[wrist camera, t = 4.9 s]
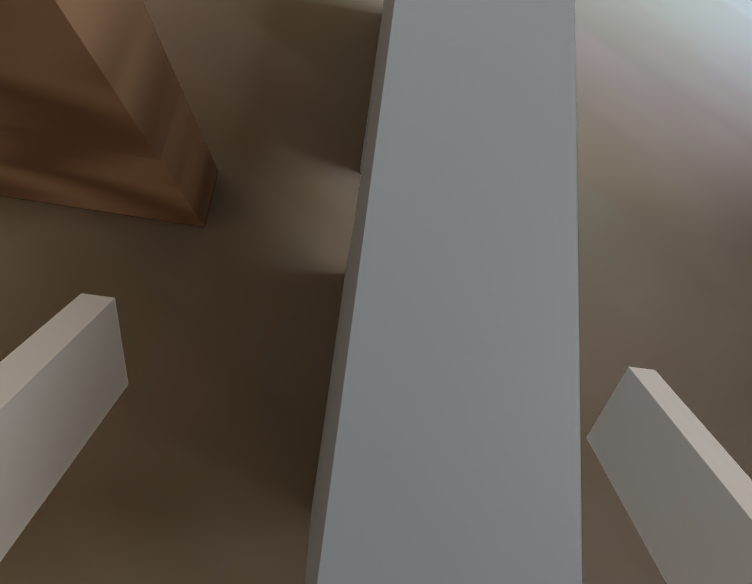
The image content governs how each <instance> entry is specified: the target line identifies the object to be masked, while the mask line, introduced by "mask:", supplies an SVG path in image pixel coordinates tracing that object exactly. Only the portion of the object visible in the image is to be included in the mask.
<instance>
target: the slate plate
mask: <svg viewBox="0 0 752 584" xmlns="http://www.w3.org/2000/svg"><path fill="white" fill-rule="evenodd" d="M360 173H361V179H360V187H359V194H358V201H357V208H356V215H355V222H354V228H353V233H352V239H351V244H350V250H349V255H348V261H347V266H346V271H345V278H344V285H343V292H342V299H341V306H340V313H339V320H338V327H337V334H336V341H335V348H334V355H333V362H332V369H331V376H330V383H329V391H328V398H327V405H326V412H325V419H324V426H323V433H322V440H321V447H320V454H319V461H318V468H317V475H316V482H315V489H314V496H313V503H312V510H311V520H310V531H309V542H308V553H307V564H306V575H305V584H582V535H581V454H580V373H579V292H578V211H577V131H576V50H575V0H384V4H383V11H382V18H381V25H380V32H379V39H378V46H377V53H376V60H375V67H374V74H373V81H372V88H371V95H370V102H369V109H368V116H367V123H366V130H365V137H364V144H363V151H362V158H361V165H360Z"/></svg>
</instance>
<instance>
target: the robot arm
mask: <svg viewBox="0 0 752 584" xmlns="http://www.w3.org/2000/svg"><path fill="white" fill-rule="evenodd" d="M128 385H129V384H128V378H127V371H126V365H125V358H124V352H123V346H122V339H121V333H120V326H119V320H118V313H117V307H116V301H115V298H113V297H106V296H98V295H91V294H83V293H81V294H80V295H79V296H77V297H76V298H75V299H74V300H73V301H72V302H70V303H69V304H68V305H67V306H66V307H64V308H63V309H62V310H61V311H60V312H59V313H57V314H56V315H55V316H54V317H53V318H51V319H50V320H49V321H48V322H47V323H46V324H44V325H43V326H42V327H41V328H40V329H38V330H37V331H36V332H35V333H34V334H33V335H31V336H30V337H29V338H28V339H27V340H25V341H24V342H23V343H22V344H21V345H20V346H18V347H17V348H16V349H15V350H14V351H12V352H11V353H10V354H9V355H8V356H7V357H5V358H4V359H3V360H2V361H1V362H0V562H1V561H2V559H3V558H4V556H5V555H6V554H7V552H8V551H9V549H10V548H11V547H12V545H13V544H14V543H15V541H16V540H17V538H18V537H19V536H20V534H21V533H22V531H23V530H24V529H25V527H26V526H27V525H28V523H29V522H30V520H31V519H32V518H33V516H34V515H35V513H36V512H37V511H38V509H39V508H40V506H41V505H42V504H43V502H44V501H45V500H46V498H47V497H48V495H49V494H50V493H51V491H52V490H53V488H54V487H55V486H56V484H57V483H58V482H59V480H60V479H61V477H62V476H63V475H64V473H65V472H66V470H67V469H68V468H69V466H70V465H71V464H72V462H73V461H74V459H75V458H76V457H77V455H78V454H79V452H80V451H81V450H82V448H83V447H84V446H85V444H86V443H87V441H88V440H89V439H90V437H91V436H92V434H93V433H94V432H95V430H96V429H97V428H98V426H99V425H100V423H101V422H102V421H103V419H104V418H105V416H106V415H107V414H108V412H109V411H110V410H111V408H112V407H113V405H114V404H115V403H116V401H117V400H118V398H119V397H120V396H121V394H122V393H123V391H124V390H125V389H126V387H127V386H128ZM586 438H587V440H588V442H589V444H590V446H591V448H592V449H593V451H594V453H595V455H596V457H597V459H598V460H599V462H600V464H601V466H602V468H603V469H604V471H605V473H606V475H607V477H608V479H609V480H610V482H611V484H612V486H613V488H614V489H615V491H616V493H617V495H618V497H619V499H620V500H621V502H622V504H623V506H624V508H625V509H626V511H627V513H628V515H629V517H630V519H631V520H632V522H633V524H634V526H635V528H636V530H637V531H638V533H639V535H640V537H641V539H642V540H643V542H644V544H645V546H646V548H647V550H648V551H649V553H650V555H651V557H652V559H653V560H654V562H655V564H656V566H657V568H658V570H659V571H660V573H661V575H662V577H663V579H664V580H665V582H666V584H752V480H751V479H750V478H749V476H748V475H747V474H746V473H745V472H744V471H743V470H742V468H741V467H740V466H739V465H738V464H737V463H736V462H735V460H734V459H733V458H732V457H731V456H730V455H729V454H728V453H727V451H726V450H725V449H724V448H723V447H722V446H721V445H720V443H719V442H718V441H717V440H716V439H715V438H714V437H713V435H712V434H711V433H710V432H709V431H708V430H707V429H706V427H705V426H704V425H703V424H702V423H701V422H700V421H699V420H698V418H697V417H696V416H695V415H694V414H693V413H692V412H691V410H690V409H689V408H688V407H687V406H686V405H685V404H684V402H683V401H682V400H681V399H680V398H679V397H678V396H677V394H676V393H675V392H674V391H673V390H672V389H671V388H670V387H669V385H668V384H667V383H666V382H665V381H664V380H663V379H662V377H661V376H660V375H659V374H658V373H657V372H656V371H655V370H651V369H644V368H636V367H629V366H628V368H627V370H626V371H625V373H624V375H623V376H622V378H621V380H620V381H619V383H618V385H617V386H616V388H615V390H614V392H613V393H612V395H611V397H610V398H609V400H608V402H607V403H606V405H605V407H604V408H603V410H602V412H601V413H600V415H599V417H598V419H597V420H596V422H595V424H594V425H593V427H592V429H591V430H590V432H589V434H588V435H587V437H586Z"/></svg>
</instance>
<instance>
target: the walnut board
mask: <svg viewBox="0 0 752 584" xmlns="http://www.w3.org/2000/svg"><path fill="white" fill-rule="evenodd" d="M217 173H218V170H217V168H216V166H215V164H214V161H213V159H212V157H211V155H210V152H209V150H208V148H207V146H206V143H205V141H204V139H203V137H202V134H201V132H200V130H199V128H198V125H197V123H196V121H195V119H194V116H193V114H192V112H191V110H190V107H189V105H188V103H187V101H186V98H185V96H184V94H183V91H182V89H181V87H180V85H179V82H178V80H177V78H176V76H175V73H174V71H173V69H172V67H171V64H170V62H169V60H168V58H167V55H166V53H165V51H164V49H163V46H162V44H161V42H160V40H159V37H158V35H157V33H156V31H155V28H154V26H153V24H152V22H151V19H150V17H149V15H148V13H147V10H146V8H145V6H144V4H143V1H142V0H0V196H6V197H12V198H19V199H25V200H32V201H38V202H45V203H52V204H58V205H65V206H71V207H78V208H84V209H91V210H97V211H104V212H110V213H117V214H123V215H130V216H136V217H143V218H149V219H156V220H162V221H169V222H175V223H182V224H188V225H195V226H201V227H204V226H205V222H206V218H207V214H208V210H209V206H210V201H211V197H212V193H213V189H214V185H215V181H216V177H217Z"/></svg>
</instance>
